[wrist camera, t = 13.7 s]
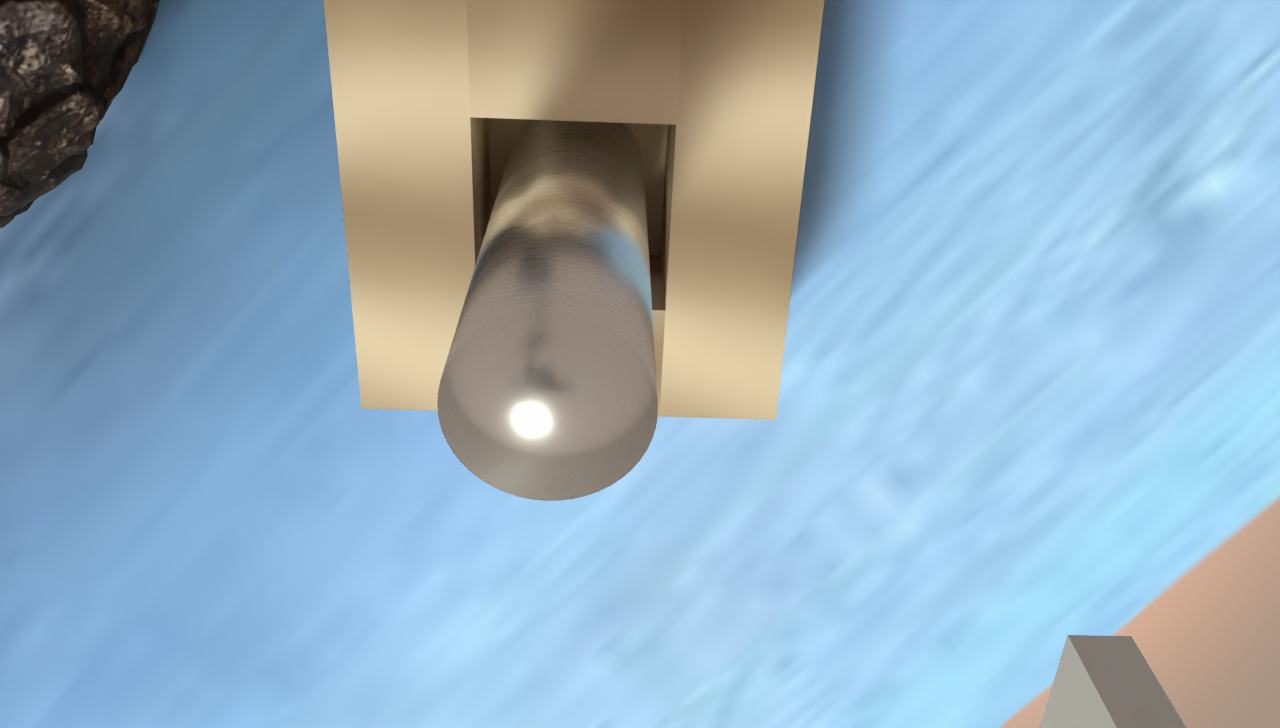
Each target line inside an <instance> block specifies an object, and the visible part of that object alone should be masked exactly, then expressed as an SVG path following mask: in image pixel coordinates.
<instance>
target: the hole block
mask: <svg viewBox="0 0 1280 728" xmlns="http://www.w3.org/2000/svg"><path fill="white" fill-rule="evenodd" d="M324 9H325V20H326V30H327V41H328V52H329V63H330V74H331V84H332V95H333V106H334V117H335V128H336V138H337V149H338V160H339V171H340V182H341V192H342V203H343V214H344V225H345V236H346V246H347V257H348V268H349V279H350V290H351V300H352V311H353V322H354V333H355V344H356V354H357V365H358V376H359V387H360V398H361V408H362V409H397V410H435V411H438V407H437V401H438V390H439V385H440V380H441V377H442V373H443V370H444V367H445V364H446V360H447V357H448V354H449V351H450V347H451V344H452V341H453V337H454V334H455V331H456V328H457V324H458V321H459V318H460V315H461V311H462V308H463V305H464V301H465V298H466V295H467V292H468V288H469V285H470V282H471V279H472V275H473V272H474V269H475V265H476V262H477V259H478V256H479V252H480V249H481V246H482V243H483V239H484V236H485V233H486V229H487V226H488V223H489V220H490V216H491V213H492V210H493V207H494V203H495V200H496V197H497V193H498V190H499V187H500V184H501V180H502V177H503V174H504V171H505V167H506V164H507V161H508V157H509V154H510V151H511V148H512V145H513V142H514V140H515V138H516V136H517V134H518V133H519V131H520V130H521V129H522V127H523V126H524V125H525V124H526V123H527V122H528V121H529V120H530V119H531V120H558V121H586V122H614V123H624V124H625V125H626V126H627V127H628V128H629V129H630V131H631V132H632V133H633V135H634V137H635V138H636V140H637V142H638V145H639V147H640V150H641V153H642V158H643V165H644V181H645V198H646V215H647V232H648V248H649V265H650V282H651V298H652V315H653V332H654V349H655V365H656V382H657V399H658V416H661V417H699V418H736V419H774V420H776V412H777V403H778V395H779V386H780V377H781V369H782V360H783V352H784V343H785V335H786V326H787V317H788V309H789V300H790V292H791V283H792V274H793V266H794V257H795V249H796V240H797V232H798V223H799V214H800V206H801V197H802V189H803V180H804V172H805V163H806V154H807V146H808V137H809V129H810V120H811V112H812V103H813V94H814V86H815V77H816V69H817V60H818V52H819V43H820V34H821V26H822V17H823V9H824V0H324Z"/></svg>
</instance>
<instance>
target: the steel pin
mask: <svg viewBox="0 0 1280 728" xmlns="http://www.w3.org/2000/svg"><path fill="white" fill-rule="evenodd" d="M437 407H438V416H439V421H440V425H441V429H442V431H443V434H444V436H445V439H446V441H447V443H448V444H449V446H450V448H451V449H452V451H453V453H454V454H455V455H456V456H457V458H458V459H459V460H460V461H461V463H462V464H463V465H464V466H465V467H466V468H467V469H468V470H469V471H471V472H472V473H473V474H474V475H476V476H477V477H478V478H480V479H481V480H482V481H484V482H486V483H488V484H489V485H491V486H493V487H495V488H497V489H499V490H501V491H504V492H506V493H509V494H512V495H515V496H519V497H523V498H528V499H534V500H545V501H552V500H567V499H574V498H578V497H583V496H587V495H590V494H592V493H595V492H598V491H600V490H602V489H604V488H606V487H608V486H610V485H612V484H613V483H615V482H616V481H618V480H619V479H621V478H622V477H624V476H625V475H626V474H627V473H628V472H629V471H630V470H632V468H633V467H634V466H635V465H636V464H637V463H638V462H639V461H640V459H641V458H642V456H643V455H644V453H645V452H646V450H647V449H648V446H649V444H650V442H651V440H652V438H653V435H654V431H655V428H656V423H657V416H658V399H657V382H656V365H655V349H654V332H653V315H652V298H651V282H650V265H649V248H648V232H647V215H646V198H645V181H644V165H643V158H642V153H641V150H640V147H639V145H638V142H637V140H636V138H635V137H634V135H633V133H632V132H631V131H630V129H629V128H628V127H627V126H626V125H625V124H624V123H614V122H586V121H558V120H531V119H530V120H529V121H528V122H527V123H526V124H525V125H524V126H523V127H522V129H521V130H520V131H519V133H518V134H517V136H516V138H515V140H514V142H513V145H512V148H511V151H510V154H509V157H508V161H507V164H506V167H505V171H504V174H503V177H502V180H501V184H500V187H499V190H498V193H497V197H496V200H495V203H494V207H493V210H492V213H491V216H490V220H489V223H488V226H487V229H486V233H485V236H484V239H483V243H482V246H481V249H480V252H479V256H478V259H477V262H476V265H475V269H474V272H473V275H472V279H471V282H470V285H469V288H468V292H467V295H466V298H465V301H464V305H463V308H462V311H461V315H460V318H459V321H458V324H457V328H456V331H455V334H454V337H453V341H452V344H451V347H450V351H449V354H448V357H447V360H446V364H445V367H444V370H443V373H442V377H441V380H440V385H439V390H438V401H437Z"/></svg>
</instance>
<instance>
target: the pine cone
mask: <svg viewBox="0 0 1280 728" xmlns="http://www.w3.org/2000/svg"><path fill="white" fill-rule="evenodd" d="M158 1H159V0H0V228H2V227H4V226H6V225H7V224H8V223H9V222H10V221H12V220H13V219H14V217H15V216H16V215H18V214H20V213H22V212H25V211H27V210H28V209H29V207H30V206H31V204H32V203H33V202H34V200H36V199H37V198H38V197H40V196H42V195H43V194H45V193H47V192H49V191H51V190H52V189H54V188H55V187H57V186H58V185H59V184H60V183H62V182H63V181H64V180H65V179H66V178H67V177H69V176H70V175H71V174H73V173H75V172H76V171H78V170H80V169H82V167H83V165H84V163H85V160H86V158H87V149H88V148H89V146H90V145H92V144H93V140H94V136H95V131H96V127H97V125H98V123H99V122H100V120H102V119H103V117H104V115H105V113H106V111H107V110H108V108H109V106H110V104H111V102H112V100H113V99H114V98H115V96H116V95H117V94H118V93H119V92H120V91H121V89H122V88H123V86H124V84H125V81H126V79H127V77H128V75H129V73H130V71H131V69H132V67H133V66H134V65H135V64H136V63H137V62H138V59H139V56H140V53H141V50H142V48H143V45H144V43H145V40H146V38H147V36H148V34H149V32H150V30H151V26H152V22H153V17H154V13H155V8H156V6H157V3H158Z"/></svg>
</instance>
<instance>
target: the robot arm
mask: <svg viewBox="0 0 1280 728" xmlns="http://www.w3.org/2000/svg"><path fill="white" fill-rule="evenodd" d="M1040 728H1186V727H1185V725H1184V723H1183V722H1182V720H1181V718H1180V717H1179V715H1178V713H1177V712H1176V710H1175V708H1174V707H1173V705H1172V703H1171V702H1170V700H1169V698H1168V697H1167V695H1166V694H1165V692H1164V690H1163V688H1162V687H1161V685H1160V683H1159V682H1158V680H1157V678H1156V677H1155V675H1154V674H1153V672H1152V670H1151V668H1150V667H1149V665H1148V664H1147V662H1146V660H1145V658H1144V657H1143V655H1142V653H1141V652H1140V650H1139V648H1138V647H1137V645H1136V644H1135V642H1134V641H1133V639H1132V637H1131V636H1079V635H1068V636H1067V639H1066V643H1065V646H1064V649H1063V653H1062V656H1061V659H1060V663H1059V666H1058V669H1057V672H1056V676H1055V679H1054V682H1053V686H1052V689H1051V692H1050V696H1049V699H1048V702H1047V705H1046V709H1045V712H1044V715H1043V719H1042V722H1041V725H1040Z"/></svg>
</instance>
